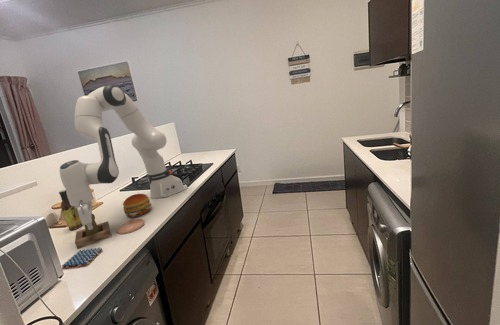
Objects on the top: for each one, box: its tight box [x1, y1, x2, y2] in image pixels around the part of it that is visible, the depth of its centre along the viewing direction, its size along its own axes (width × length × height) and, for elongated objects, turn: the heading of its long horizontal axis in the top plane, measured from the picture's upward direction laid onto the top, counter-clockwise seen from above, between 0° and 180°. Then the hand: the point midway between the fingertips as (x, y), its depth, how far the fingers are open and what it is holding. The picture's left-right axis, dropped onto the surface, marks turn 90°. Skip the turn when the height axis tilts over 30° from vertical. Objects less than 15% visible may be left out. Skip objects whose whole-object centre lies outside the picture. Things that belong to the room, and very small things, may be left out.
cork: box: [83, 213, 101, 236], centre depth 116 cm, size 6×6×11 cm
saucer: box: [116, 218, 145, 235], centre depth 121 cm, size 12×12×1 cm
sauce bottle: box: [58, 189, 83, 231], centre depth 129 cm, size 6×6×20 cm
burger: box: [122, 193, 152, 218], centre depth 136 cm, size 14×14×10 cm
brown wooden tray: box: [74, 221, 112, 250], centre depth 117 cm, size 13×13×3 cm
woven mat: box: [61, 247, 104, 270], centre depth 99 cm, size 10×11×2 cm
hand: (91, 226), depth 116 cm, fingers closed on cork, 4 cm apart
